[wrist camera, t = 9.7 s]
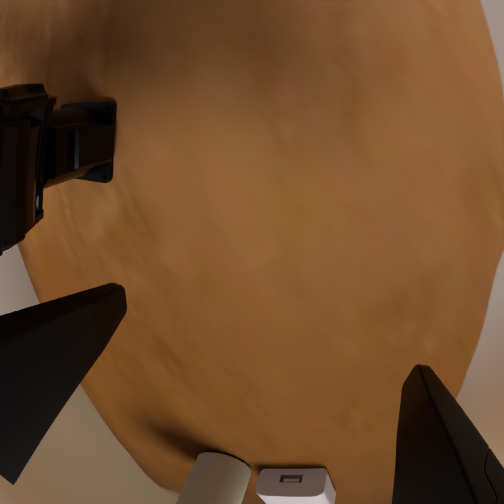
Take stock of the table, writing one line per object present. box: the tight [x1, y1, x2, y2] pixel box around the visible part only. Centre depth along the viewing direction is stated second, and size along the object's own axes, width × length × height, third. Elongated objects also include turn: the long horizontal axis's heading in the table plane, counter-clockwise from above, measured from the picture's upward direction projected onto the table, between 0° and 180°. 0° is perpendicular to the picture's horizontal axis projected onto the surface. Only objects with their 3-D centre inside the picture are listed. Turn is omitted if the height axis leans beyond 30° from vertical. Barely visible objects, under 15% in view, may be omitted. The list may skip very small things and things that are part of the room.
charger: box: [255, 468, 336, 504], centre depth 33 cm, size 5×9×15 cm
